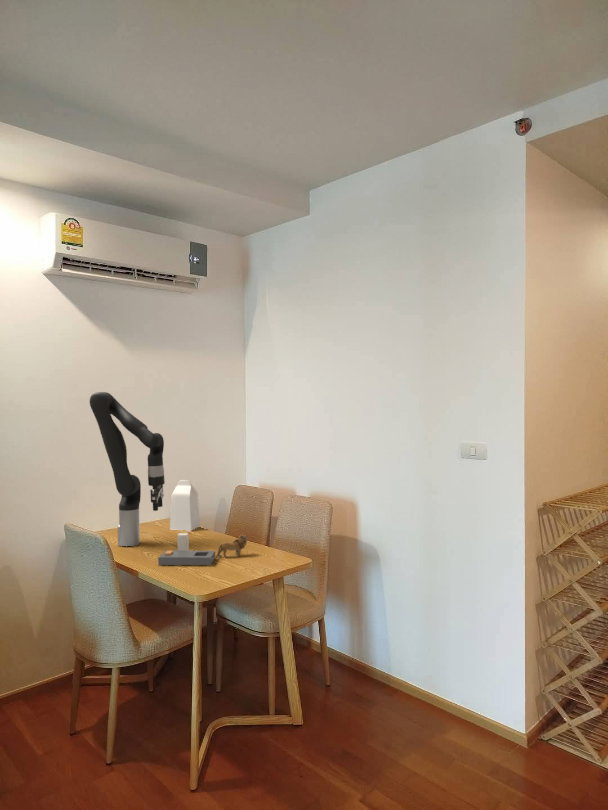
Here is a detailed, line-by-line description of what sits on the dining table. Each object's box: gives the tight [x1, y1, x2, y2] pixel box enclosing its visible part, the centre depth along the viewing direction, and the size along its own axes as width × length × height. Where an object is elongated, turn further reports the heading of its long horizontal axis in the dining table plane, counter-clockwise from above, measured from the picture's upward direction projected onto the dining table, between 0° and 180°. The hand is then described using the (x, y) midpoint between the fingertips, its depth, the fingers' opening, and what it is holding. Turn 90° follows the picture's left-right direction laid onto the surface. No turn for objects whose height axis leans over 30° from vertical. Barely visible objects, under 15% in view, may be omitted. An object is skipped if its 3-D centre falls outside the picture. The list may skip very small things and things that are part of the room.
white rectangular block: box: [176, 532, 190, 551], centre depth 242 cm, size 4×4×9 cm
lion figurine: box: [215, 534, 248, 559], centre depth 238 cm, size 15×5×9 cm, turn 118°
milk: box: [169, 479, 201, 532], centre depth 290 cm, size 12×12×26 cm
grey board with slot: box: [157, 550, 216, 567], centre depth 230 cm, size 22×10×4 cm, turn 88°
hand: (157, 508), depth 257 cm, fingers open, 8 cm apart
